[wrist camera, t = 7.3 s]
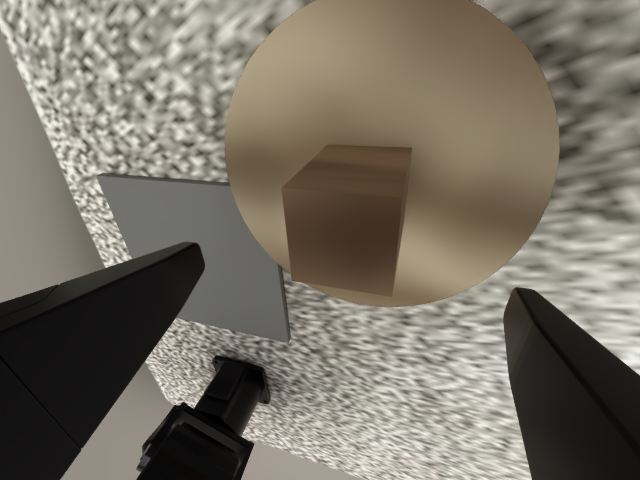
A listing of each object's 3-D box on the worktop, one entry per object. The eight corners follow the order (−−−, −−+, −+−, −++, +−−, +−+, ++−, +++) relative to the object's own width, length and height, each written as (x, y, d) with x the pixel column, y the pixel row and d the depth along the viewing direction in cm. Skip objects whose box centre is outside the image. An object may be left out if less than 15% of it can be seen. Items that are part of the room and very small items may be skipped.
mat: (290, 338, 31) (288, 342, 30) (159, 309, 35) (155, 313, 35) (270, 186, 23) (267, 189, 22) (102, 173, 27) (96, 175, 26)
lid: (498, 317, 16) (526, 429, 11) (256, 277, 20) (201, 348, 15) (625, -40, 9) (848, -139, 4) (204, 4, 13) (69, -21, 8)
